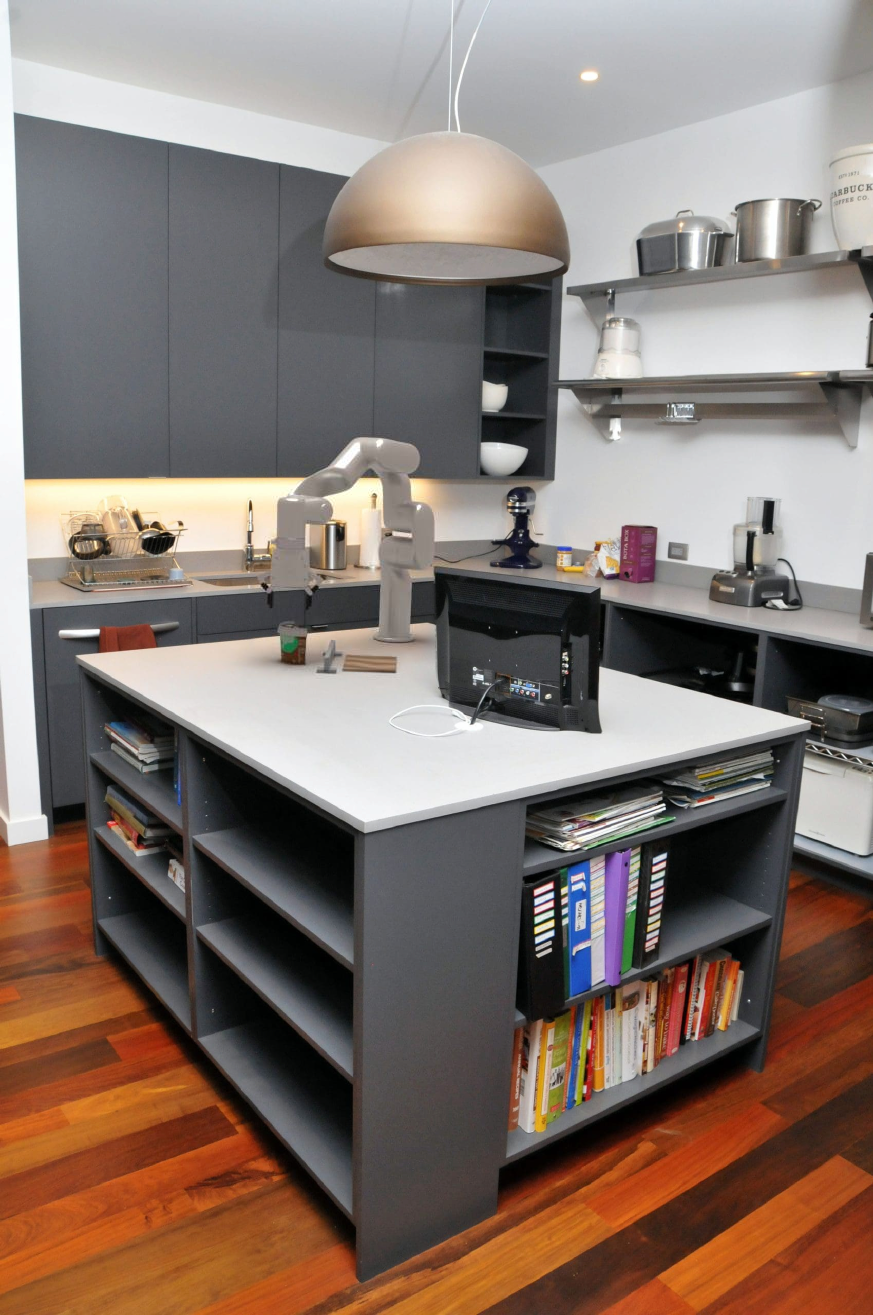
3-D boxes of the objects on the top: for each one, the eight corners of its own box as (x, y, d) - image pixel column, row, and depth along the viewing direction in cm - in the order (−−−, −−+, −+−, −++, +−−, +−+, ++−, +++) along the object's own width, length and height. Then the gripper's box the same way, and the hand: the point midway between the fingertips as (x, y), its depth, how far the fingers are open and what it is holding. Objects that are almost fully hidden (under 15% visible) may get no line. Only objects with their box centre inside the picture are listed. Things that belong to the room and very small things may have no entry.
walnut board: (346, 656, 280) (346, 654, 280) (396, 658, 281) (396, 656, 281) (342, 670, 263) (342, 668, 263) (395, 673, 263) (395, 670, 263)
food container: (271, 657, 275) (272, 621, 273) (293, 656, 278) (293, 620, 276) (284, 666, 264) (284, 629, 262) (306, 665, 267) (307, 628, 265)
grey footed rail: (323, 653, 283) (324, 639, 282) (341, 654, 283) (342, 640, 282) (316, 672, 259) (316, 657, 259) (335, 673, 260) (336, 658, 259)
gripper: (255, 544, 260) (255, 609, 264) (322, 547, 261) (320, 612, 264) (260, 541, 268) (259, 604, 271) (324, 544, 268) (323, 607, 272)
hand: (289, 608), depth 268 cm, fingers open, 9 cm apart
